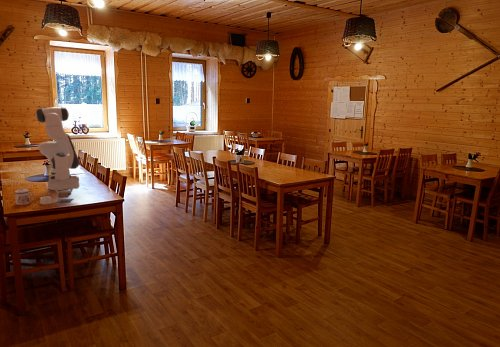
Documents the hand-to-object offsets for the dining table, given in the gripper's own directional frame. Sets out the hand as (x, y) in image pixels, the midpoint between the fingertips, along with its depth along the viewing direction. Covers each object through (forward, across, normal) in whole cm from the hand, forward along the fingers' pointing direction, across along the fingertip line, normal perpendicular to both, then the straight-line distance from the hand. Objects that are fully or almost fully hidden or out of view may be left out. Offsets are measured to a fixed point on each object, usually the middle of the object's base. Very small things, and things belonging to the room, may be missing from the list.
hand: (64, 194), depth 269 cm
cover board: (+1, 0, 0) cm, 1 cm away
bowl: (+5, +11, +5) cm, 13 cm away
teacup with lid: (+6, +26, 0) cm, 27 cm away
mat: (+5, 0, +1) cm, 5 cm away
